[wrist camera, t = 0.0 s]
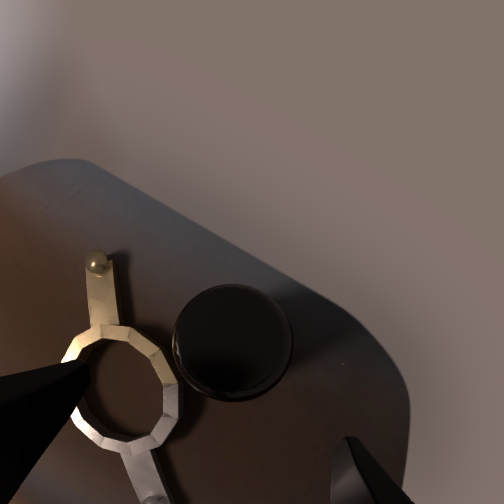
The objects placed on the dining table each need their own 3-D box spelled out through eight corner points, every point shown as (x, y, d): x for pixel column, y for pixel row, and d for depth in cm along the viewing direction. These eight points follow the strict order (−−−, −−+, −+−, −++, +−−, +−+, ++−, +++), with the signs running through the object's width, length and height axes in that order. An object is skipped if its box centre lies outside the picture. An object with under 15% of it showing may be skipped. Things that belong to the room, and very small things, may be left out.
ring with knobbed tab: (184, 383, 21) (178, 386, 20) (73, 395, 20) (61, 396, 18) (157, 242, 26) (150, 234, 24) (58, 269, 25) (48, 263, 23)
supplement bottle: (238, 402, 21) (229, 448, 10) (179, 346, 23) (120, 337, 11) (294, 344, 23) (339, 335, 12) (236, 290, 24) (226, 233, 13)
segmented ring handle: (235, 533, 16) (235, 544, 14) (126, 533, 15) (120, 541, 13) (182, 378, 22) (177, 380, 20) (72, 390, 20) (60, 391, 19)
